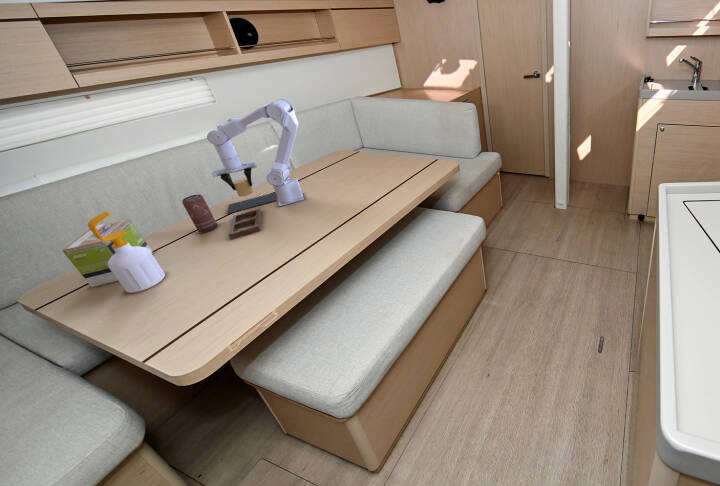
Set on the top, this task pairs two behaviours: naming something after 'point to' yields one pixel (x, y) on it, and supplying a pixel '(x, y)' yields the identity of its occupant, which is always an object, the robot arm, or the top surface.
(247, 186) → the yellow wooden cylinder
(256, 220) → the holder
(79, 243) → the tea box
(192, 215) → the can
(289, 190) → the robot arm
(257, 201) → the mat
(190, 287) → the top surface
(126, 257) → the soap bottle
